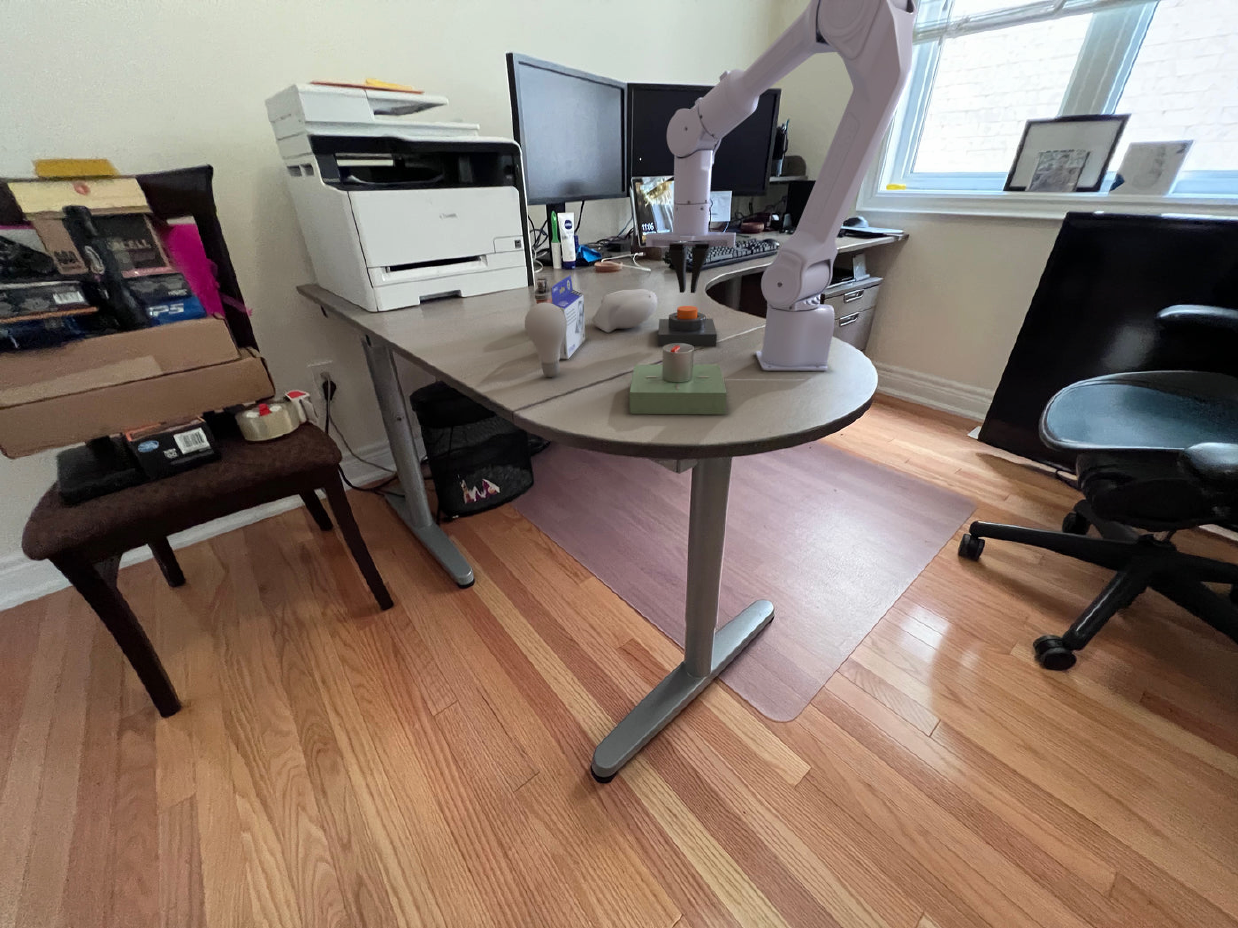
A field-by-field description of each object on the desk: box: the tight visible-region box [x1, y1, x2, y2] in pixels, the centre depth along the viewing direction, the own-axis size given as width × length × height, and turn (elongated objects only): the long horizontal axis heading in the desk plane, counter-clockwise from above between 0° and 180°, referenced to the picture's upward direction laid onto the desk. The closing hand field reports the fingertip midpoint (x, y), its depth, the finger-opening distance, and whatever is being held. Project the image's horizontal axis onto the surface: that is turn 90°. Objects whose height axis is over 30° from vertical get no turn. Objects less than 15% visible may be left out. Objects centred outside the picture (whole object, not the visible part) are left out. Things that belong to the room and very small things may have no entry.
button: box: [676, 305, 699, 319], centre depth 87 cm, size 4×4×2 cm
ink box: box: [551, 274, 586, 360], centre depth 83 cm, size 12×2×12 cm, turn 168°
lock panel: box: [629, 364, 728, 416], centre depth 66 cm, size 12×10×3 cm
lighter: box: [534, 274, 552, 304], centre depth 94 cm, size 8×3×10 cm, turn 179°
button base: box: [657, 311, 718, 348], centre depth 88 cm, size 10×10×4 cm
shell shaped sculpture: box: [591, 288, 658, 333], centre depth 96 cm, size 13×13×6 cm
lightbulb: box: [524, 303, 567, 378], centre depth 72 cm, size 6×6×11 cm
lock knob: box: [661, 343, 695, 383], centre depth 64 cm, size 4×4×4 cm
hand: (688, 291), depth 85 cm, fingers closed
